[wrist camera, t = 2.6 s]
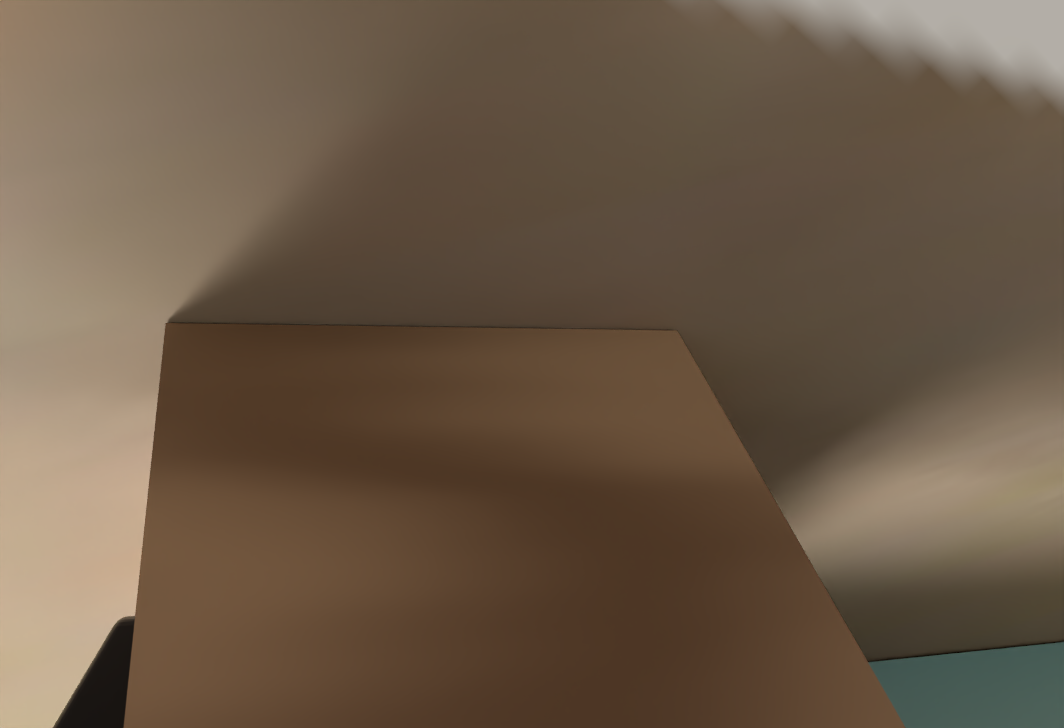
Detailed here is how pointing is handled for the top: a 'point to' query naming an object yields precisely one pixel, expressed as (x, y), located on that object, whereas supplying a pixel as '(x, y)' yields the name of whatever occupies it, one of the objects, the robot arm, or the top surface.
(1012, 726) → the box
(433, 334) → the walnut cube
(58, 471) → the top surface
